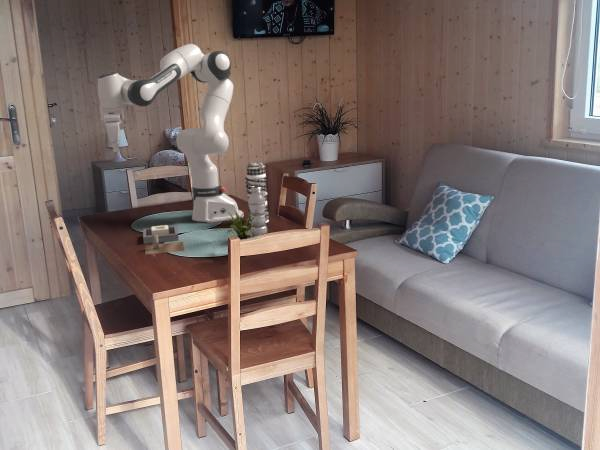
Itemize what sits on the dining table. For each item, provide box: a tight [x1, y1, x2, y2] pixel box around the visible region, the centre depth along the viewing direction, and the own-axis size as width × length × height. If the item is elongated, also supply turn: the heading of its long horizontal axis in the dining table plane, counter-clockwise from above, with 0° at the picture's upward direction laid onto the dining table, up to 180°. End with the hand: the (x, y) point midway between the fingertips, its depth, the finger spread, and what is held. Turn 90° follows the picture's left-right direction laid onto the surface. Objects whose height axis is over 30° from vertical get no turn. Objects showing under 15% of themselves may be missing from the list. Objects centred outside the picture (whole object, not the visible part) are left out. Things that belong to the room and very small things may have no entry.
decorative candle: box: [244, 161, 270, 224], centre depth 280 cm, size 9×9×25 cm
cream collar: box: [151, 224, 169, 236], centre depth 261 cm, size 6×6×4 cm
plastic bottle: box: [247, 186, 268, 238], centre depth 256 cm, size 6×7×20 cm
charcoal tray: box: [142, 225, 180, 245], centre depth 261 cm, size 13×13×4 cm
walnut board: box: [144, 235, 185, 256], centre depth 247 cm, size 14×12×6 cm
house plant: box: [222, 211, 258, 240], centre depth 237 cm, size 14×14×16 cm
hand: (116, 150), depth 266 cm, fingers open, 8 cm apart
